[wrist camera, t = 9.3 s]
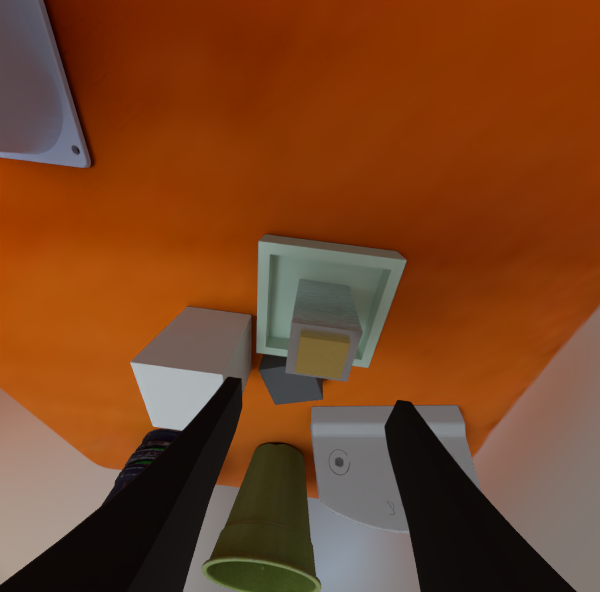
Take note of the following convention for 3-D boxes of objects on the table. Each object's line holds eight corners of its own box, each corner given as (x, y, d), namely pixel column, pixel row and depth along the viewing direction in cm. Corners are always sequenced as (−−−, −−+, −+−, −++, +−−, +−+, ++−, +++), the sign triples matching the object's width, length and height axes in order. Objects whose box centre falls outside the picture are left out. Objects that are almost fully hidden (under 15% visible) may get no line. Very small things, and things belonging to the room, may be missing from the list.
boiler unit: (184, 305, 20) (126, 361, 14) (251, 314, 20) (222, 374, 14) (195, 369, 24) (153, 435, 18) (251, 377, 24) (228, 445, 18)
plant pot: (332, 443, 29) (340, 580, 19) (305, 482, 35) (300, 604, 25) (245, 421, 28) (206, 553, 18) (232, 465, 34) (196, 584, 24)
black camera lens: (130, 429, 31) (-8, 614, 18) (193, 426, 29) (92, 625, 16) (164, 466, 35) (73, 635, 22) (220, 465, 34) (158, 646, 21)
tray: (265, 234, 17) (258, 241, 15) (396, 251, 16) (406, 260, 15) (261, 337, 21) (256, 352, 20) (363, 351, 21) (368, 367, 19)
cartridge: (299, 278, 17) (290, 326, 12) (349, 285, 17) (364, 336, 12) (293, 320, 19) (284, 377, 14) (339, 326, 19) (347, 387, 14)
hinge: (461, 404, 24) (521, 543, 17) (446, 416, 27) (490, 535, 21) (308, 406, 26) (307, 530, 19) (312, 417, 29) (312, 525, 23)
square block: (264, 351, 23) (258, 370, 20) (311, 343, 22) (310, 362, 20) (278, 384, 25) (275, 404, 23) (322, 379, 24) (322, 399, 22)
